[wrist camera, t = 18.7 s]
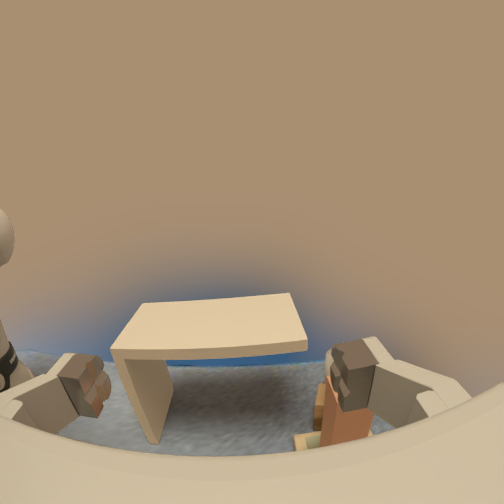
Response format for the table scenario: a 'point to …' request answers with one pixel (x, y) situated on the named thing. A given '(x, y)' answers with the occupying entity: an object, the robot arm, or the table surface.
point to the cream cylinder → (328, 364)
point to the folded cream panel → (197, 344)
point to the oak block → (319, 407)
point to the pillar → (342, 420)
